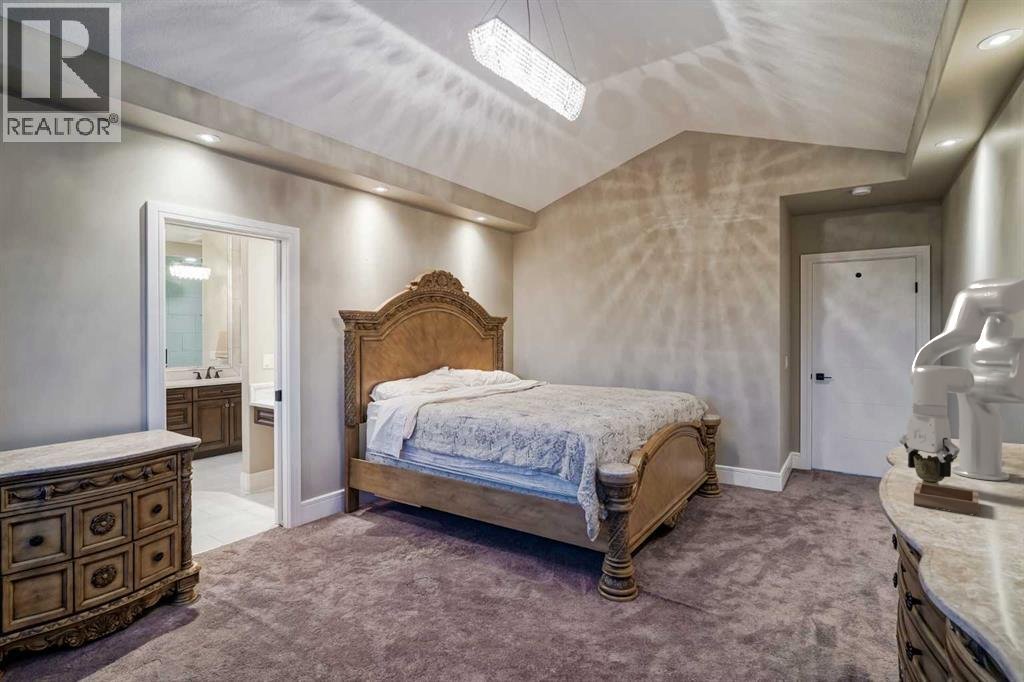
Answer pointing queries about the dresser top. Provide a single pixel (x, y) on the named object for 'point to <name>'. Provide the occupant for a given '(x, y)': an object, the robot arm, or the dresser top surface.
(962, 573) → the dresser top surface
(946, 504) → the box
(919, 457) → the olive round vessel
